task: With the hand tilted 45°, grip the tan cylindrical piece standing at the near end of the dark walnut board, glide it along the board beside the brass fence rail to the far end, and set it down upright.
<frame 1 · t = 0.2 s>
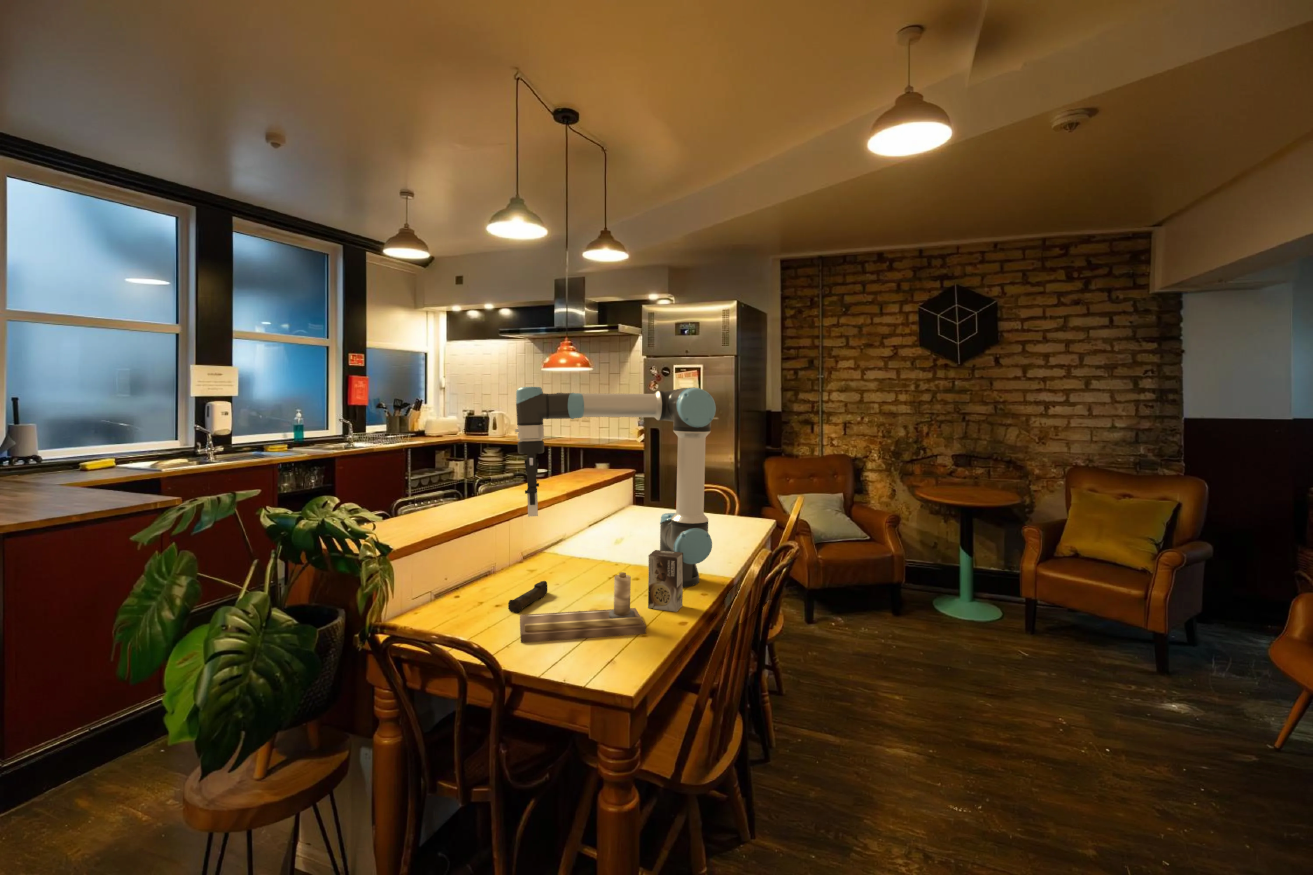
hand: (533, 512, 181), 27 cm above the table, tool pointing down, fingers open, 13 cm apart
coffee box: (665, 607, 183), on the table
hand tool: (529, 603, 184), on the table
tan cylindrical piece: (621, 616, 168), point 2 cm above the table, touching walnut board
walnut board: (581, 627, 165), on the table
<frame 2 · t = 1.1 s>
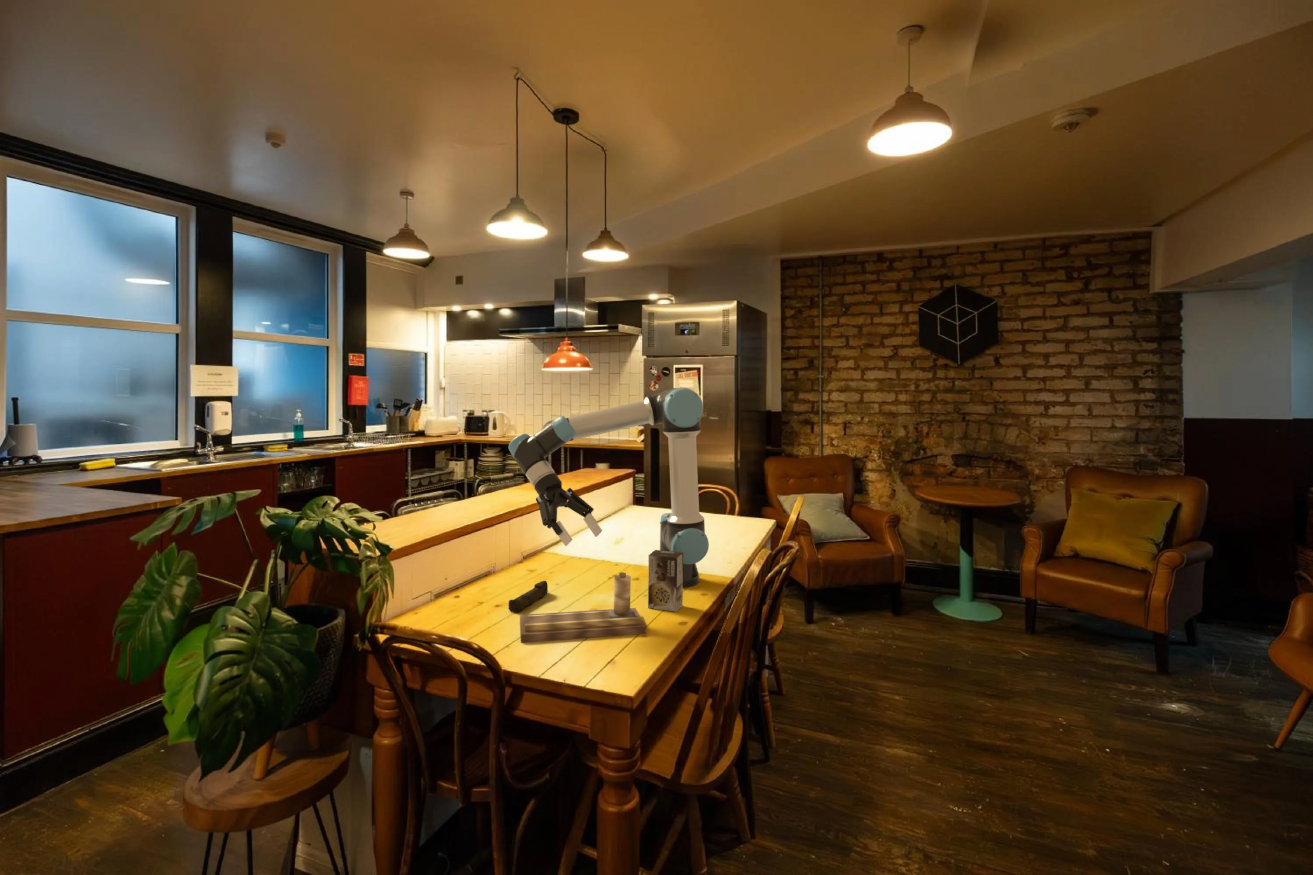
hand: (584, 538, 174), 22 cm above the table, tool tilted 45°, fingers open, 13 cm apart
nothing on the table moved.
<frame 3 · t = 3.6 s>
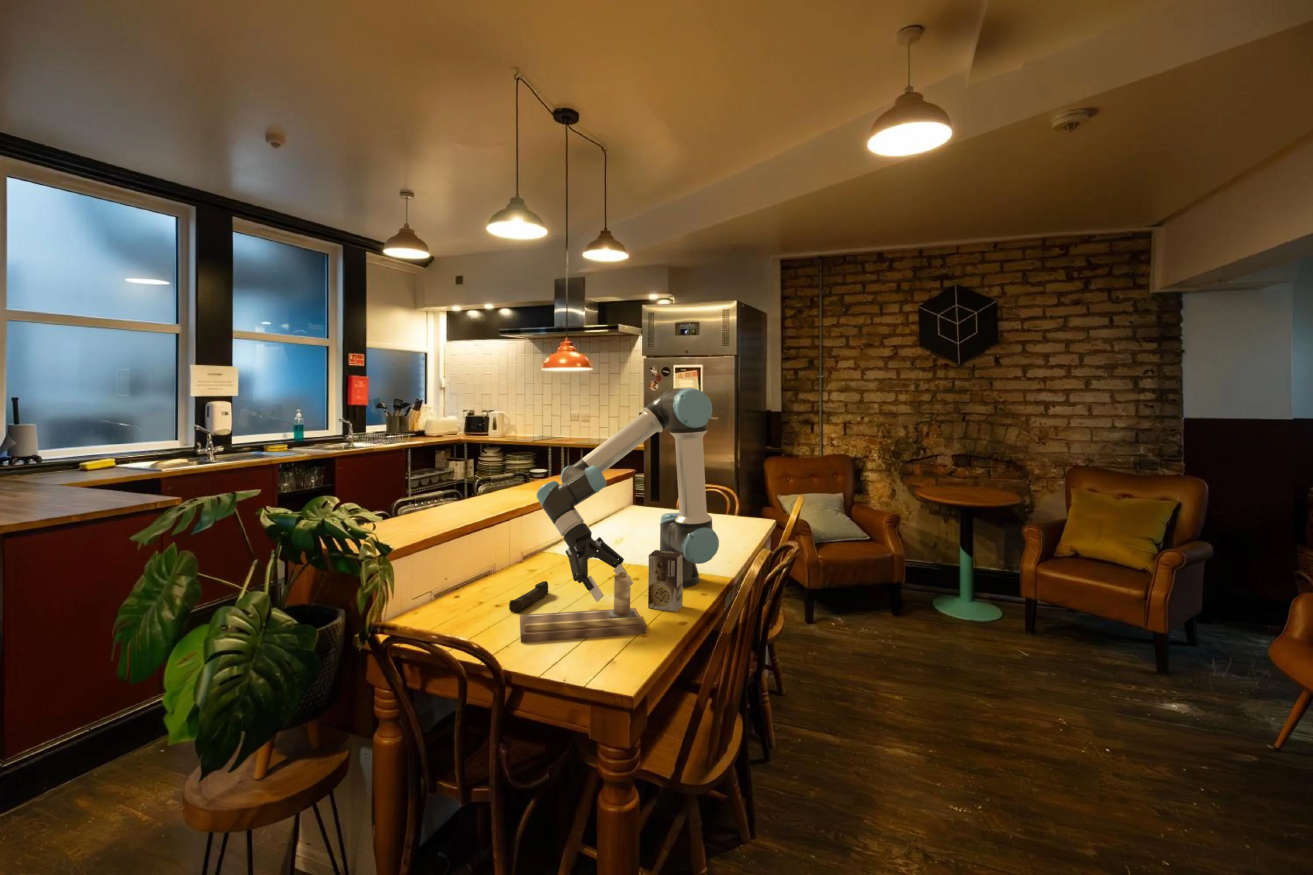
hand: (615, 592, 168), 9 cm above the table, tool tilted 45°, fingers open, 13 cm apart
nothing on the table moved.
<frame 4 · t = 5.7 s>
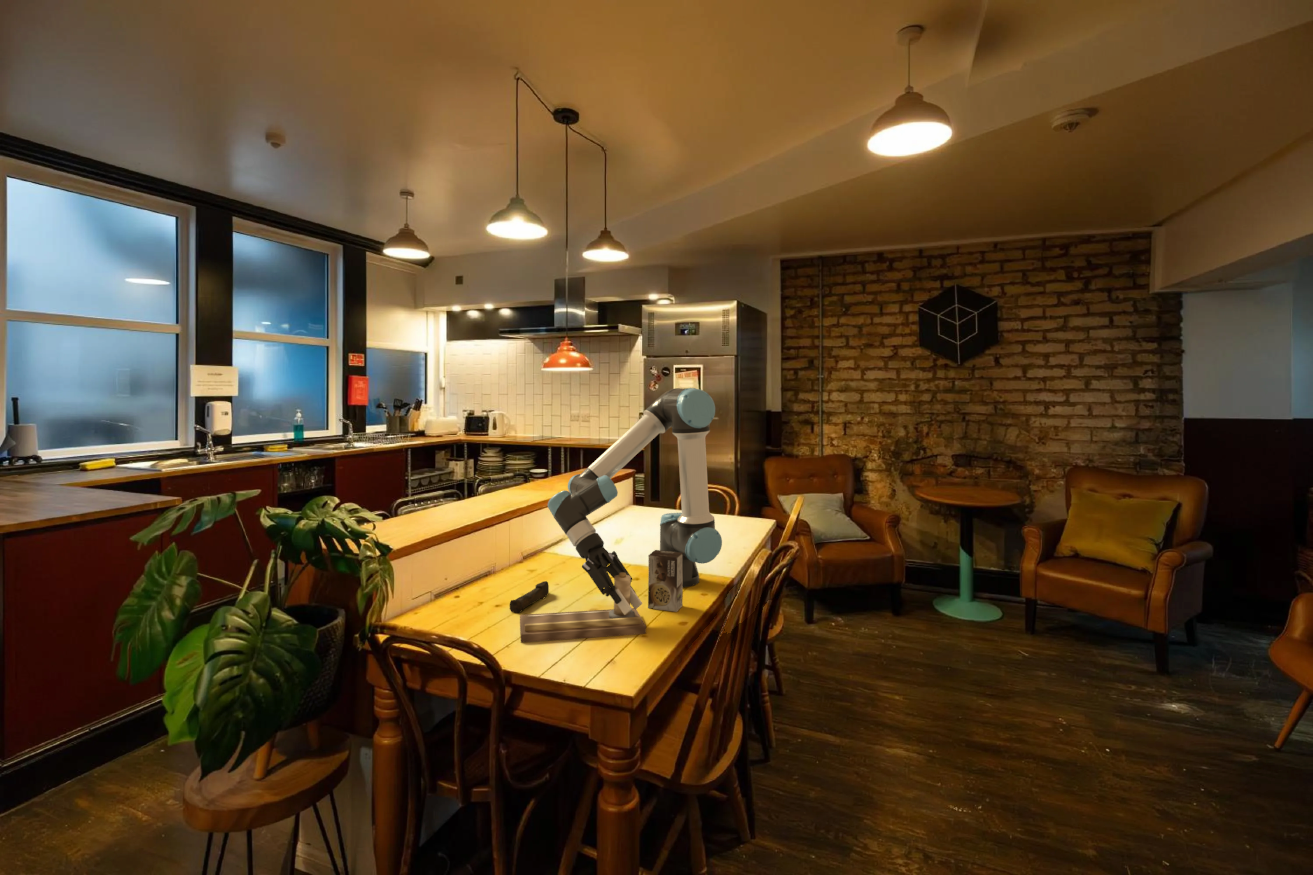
hand: (633, 609, 166), 5 cm above the table, tool tilted 45°, fingers closed on tan cylindrical piece, 4 cm apart
tan cylindrical piece: (621, 616, 168), point 2 cm above the table, touching gripper, walnut board
everything else where it was.
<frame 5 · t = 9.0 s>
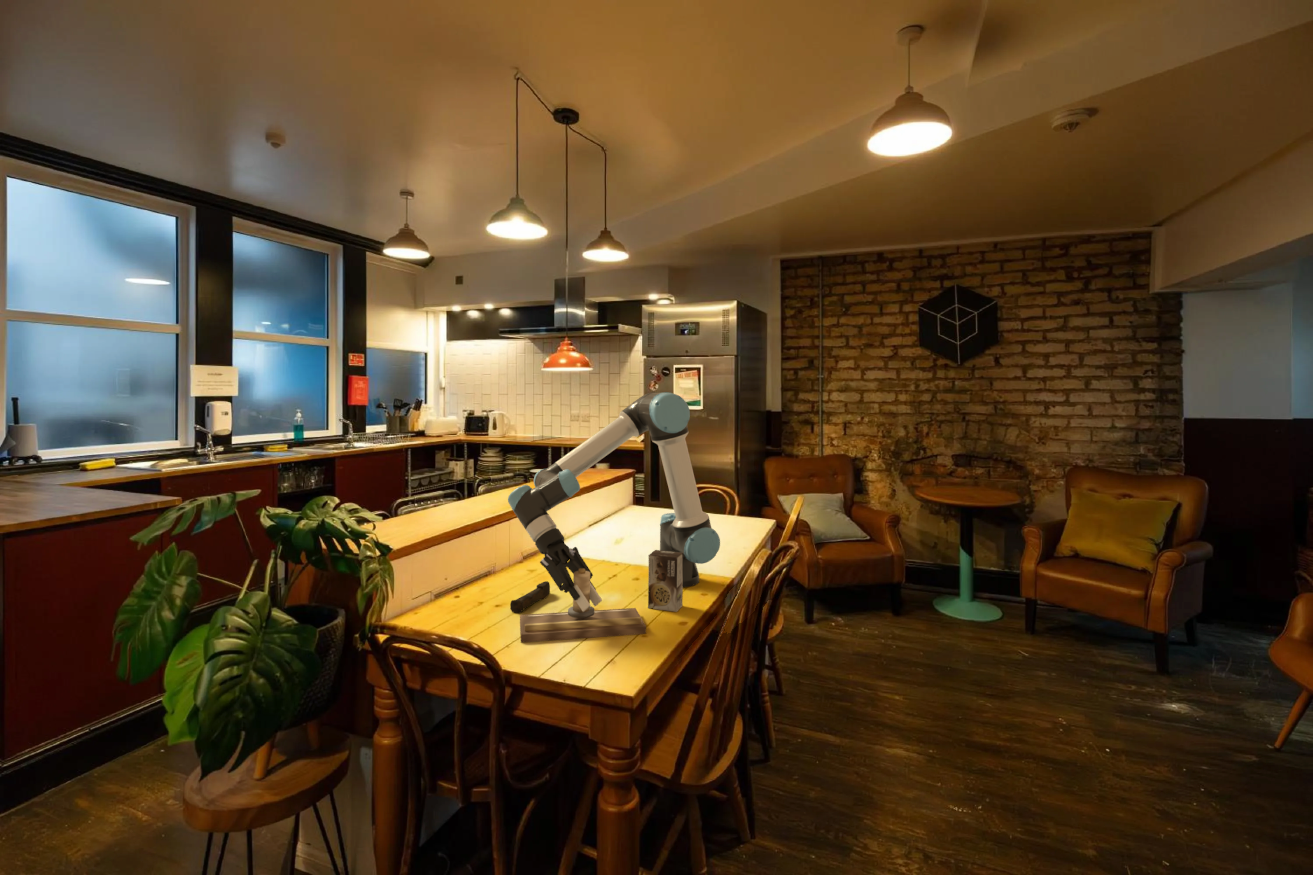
hand: (592, 605, 163), 7 cm above the table, tool tilted 45°, fingers closed on tan cylindrical piece, 4 cm apart
tan cylindrical piece: (581, 613, 165), point 4 cm above the table, touching gripper
everything else where it was.
when the fingers open (5 cm above the table, at t = 12.4 s): tan cylindrical piece stays where it is, resting on walnut board.
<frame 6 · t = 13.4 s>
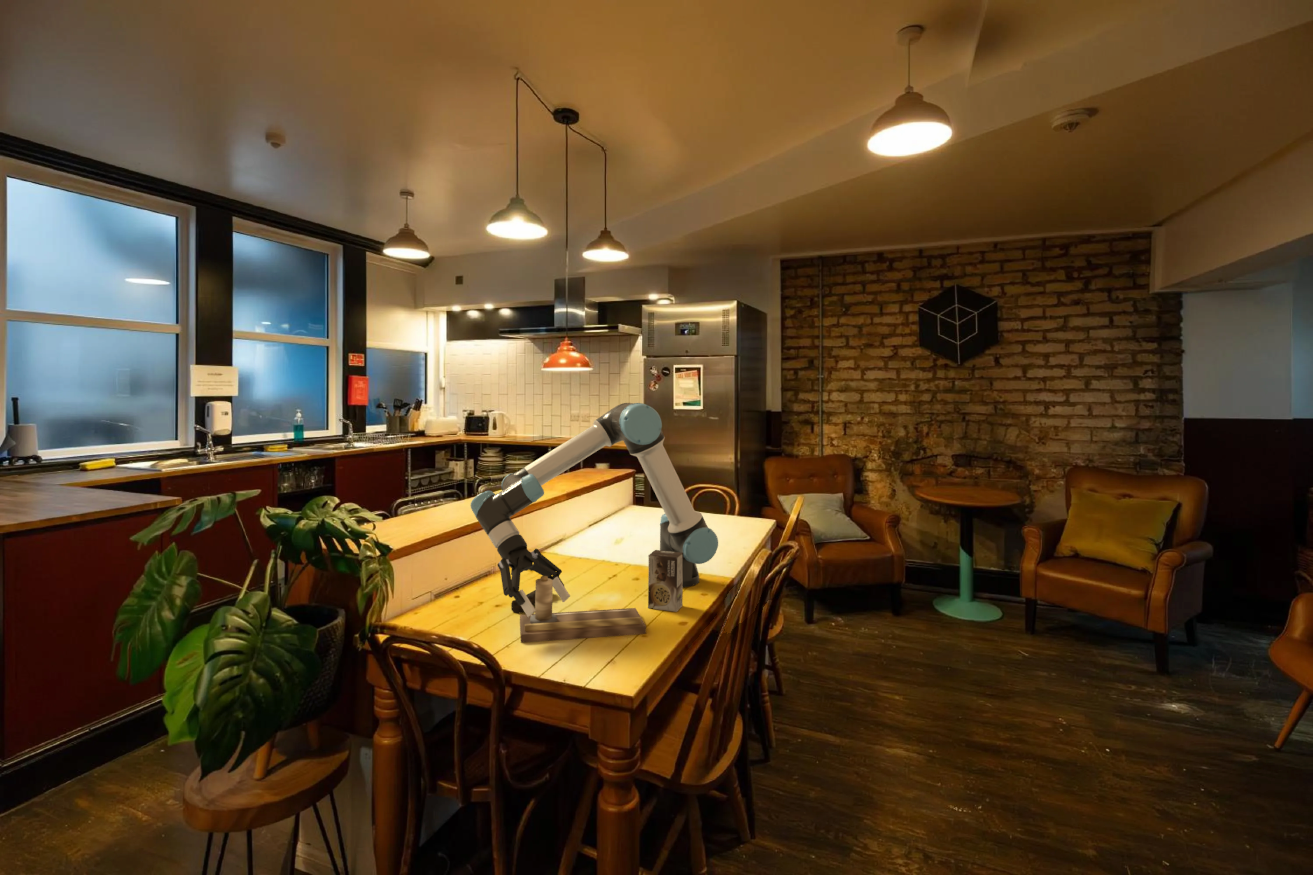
hand: (550, 606, 162), 7 cm above the table, tool tilted 45°, fingers open, 13 cm apart
tan cylindrical piece: (543, 621, 163), point 2 cm above the table, touching walnut board
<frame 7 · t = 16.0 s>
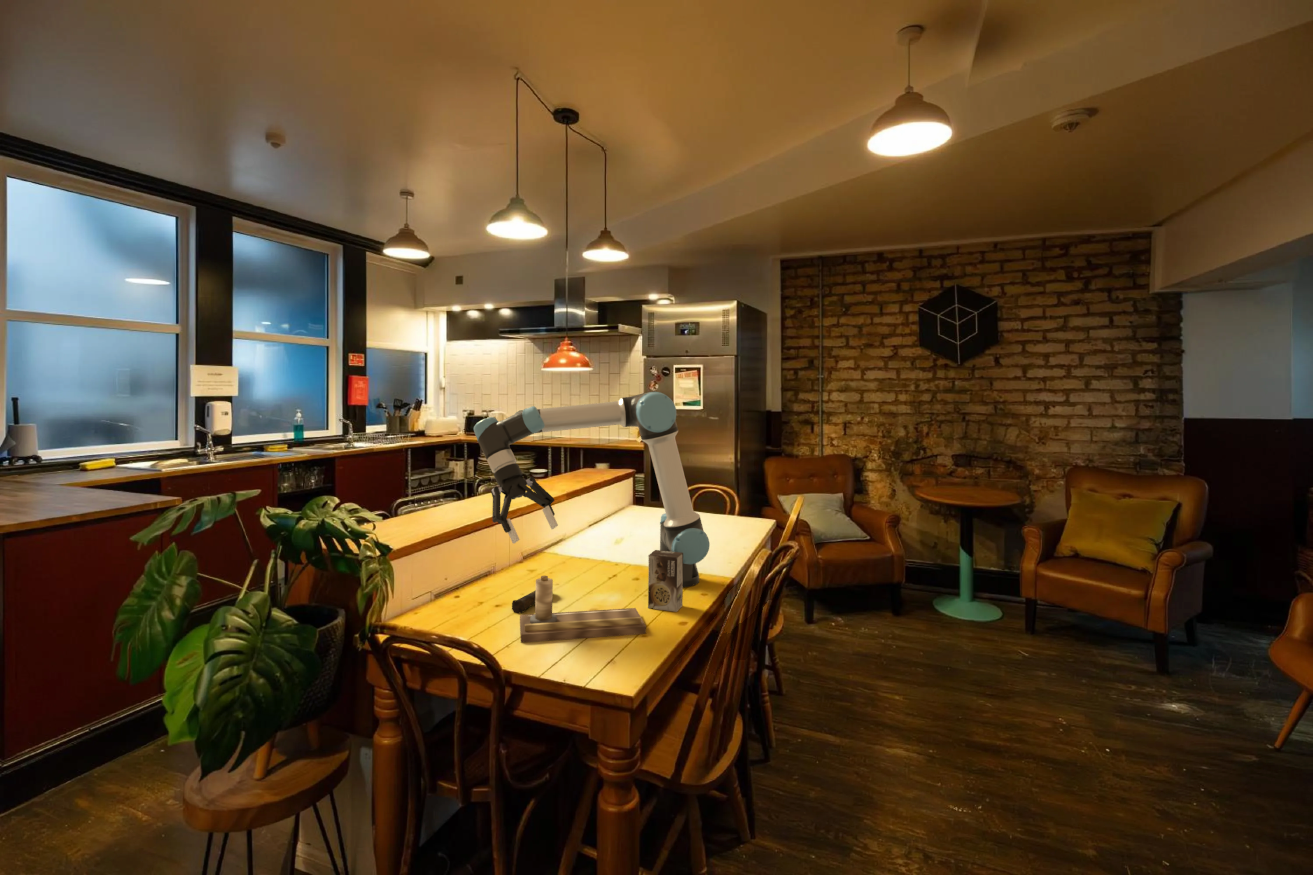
hand: (536, 534, 174), 22 cm above the table, tool tilted 35°, fingers open, 13 cm apart
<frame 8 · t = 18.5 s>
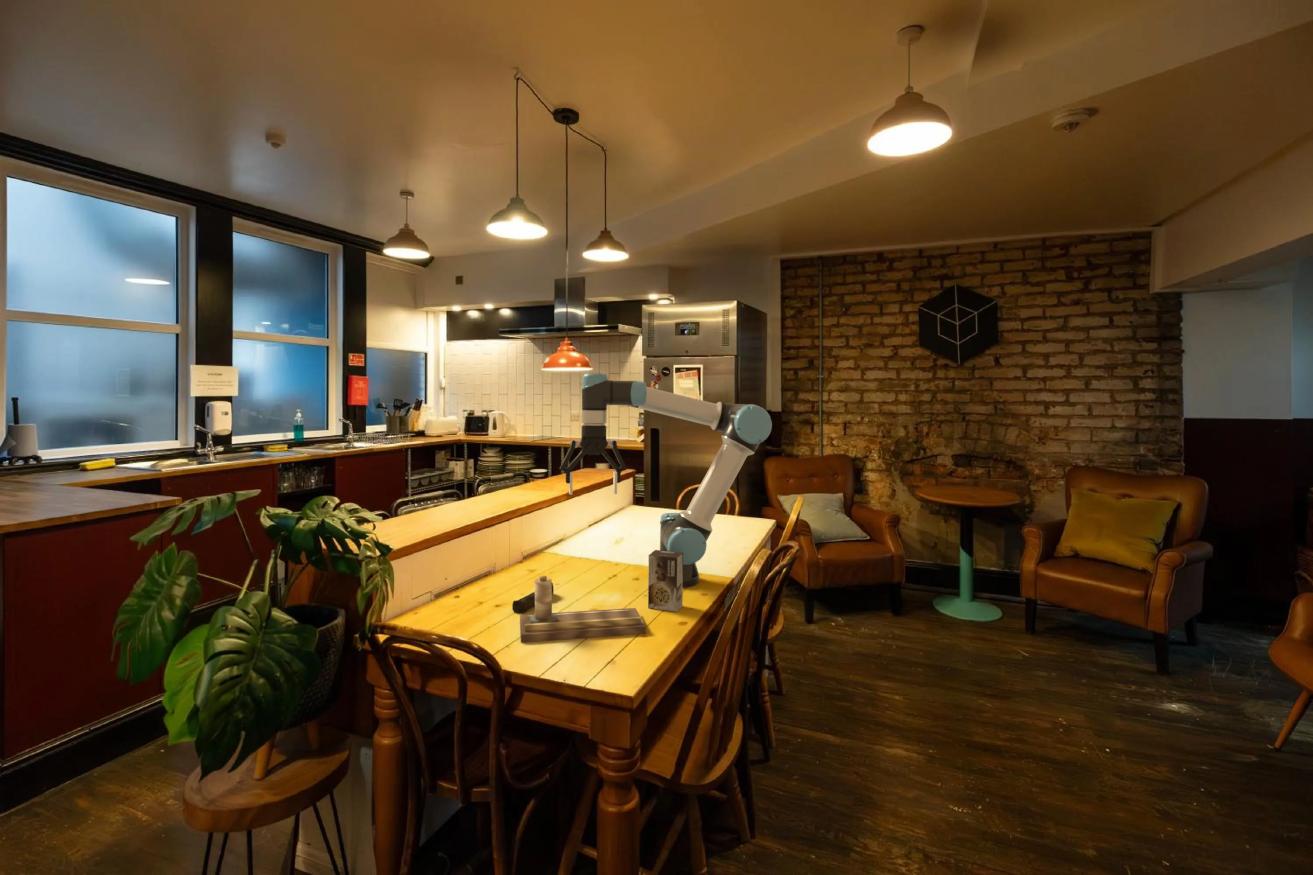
hand: (593, 493, 189), 32 cm above the table, tool pointing down, fingers open, 13 cm apart
at the end: tan cylindrical piece inside the target area (0.0 cm from its centre), point 2.1 cm above the table; tan cylindrical piece tilted 1°; the gripper is holding nothing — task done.
